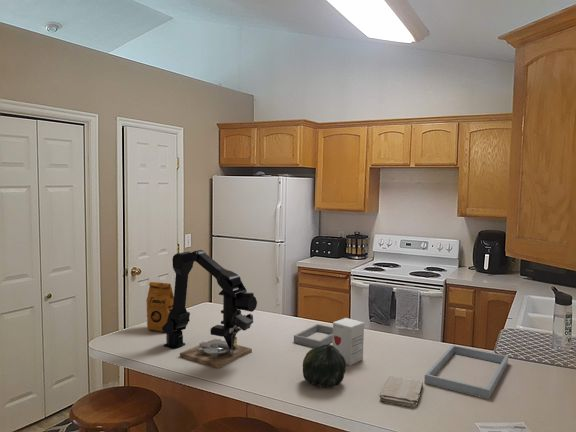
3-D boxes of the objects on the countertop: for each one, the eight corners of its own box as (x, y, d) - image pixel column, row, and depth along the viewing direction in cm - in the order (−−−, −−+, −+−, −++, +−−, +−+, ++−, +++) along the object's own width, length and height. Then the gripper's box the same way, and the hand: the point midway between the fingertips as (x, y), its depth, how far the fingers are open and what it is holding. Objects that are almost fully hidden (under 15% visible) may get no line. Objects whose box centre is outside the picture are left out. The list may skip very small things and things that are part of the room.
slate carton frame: (424, 383, 165) (424, 374, 165) (452, 352, 195) (452, 344, 195) (489, 399, 154) (489, 390, 153) (507, 363, 184) (508, 356, 183)
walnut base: (179, 356, 186) (179, 352, 186) (214, 342, 203) (214, 338, 203) (218, 368, 175) (218, 364, 175) (251, 352, 192) (251, 348, 192)
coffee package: (166, 334, 212) (166, 286, 210) (143, 331, 216) (143, 283, 215) (179, 328, 221) (179, 281, 220) (157, 325, 226) (156, 279, 224)
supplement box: (331, 359, 186) (331, 321, 184) (344, 353, 192) (345, 317, 191) (350, 366, 179) (351, 327, 178) (363, 359, 186) (364, 322, 185)
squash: (302, 356, 174) (304, 335, 163) (343, 359, 173) (348, 338, 162) (301, 394, 164) (302, 375, 153) (344, 397, 164) (349, 378, 153)
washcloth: (378, 403, 151) (378, 394, 151) (388, 381, 167) (388, 372, 167) (417, 410, 146) (417, 400, 146) (423, 387, 163) (423, 378, 163)
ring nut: (225, 361, 179) (225, 343, 178) (189, 352, 186) (189, 335, 186) (246, 349, 191) (246, 332, 191) (211, 342, 199) (211, 326, 198)
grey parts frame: (293, 342, 204) (293, 335, 204) (317, 330, 221) (317, 323, 221) (320, 348, 197) (320, 341, 197) (342, 335, 214) (342, 329, 213)
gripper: (235, 316, 169) (235, 359, 171) (261, 304, 186) (260, 344, 187) (209, 312, 174) (209, 353, 175) (237, 301, 191) (236, 339, 192)
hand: (230, 347), depth 182 cm, fingers closed
